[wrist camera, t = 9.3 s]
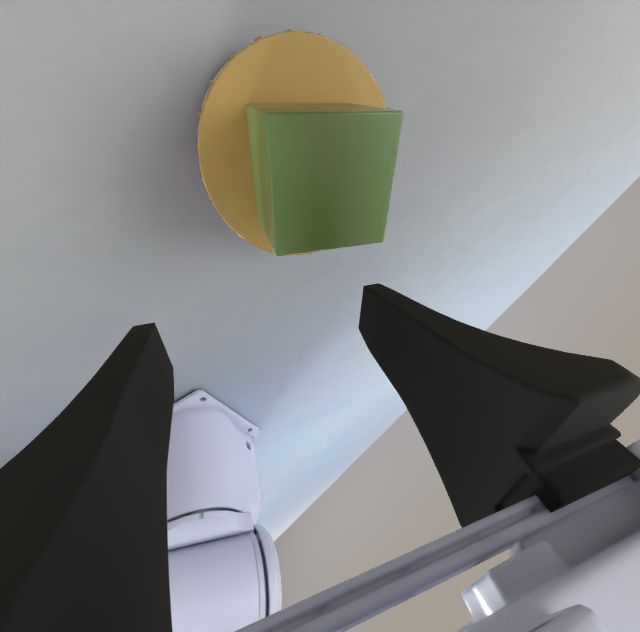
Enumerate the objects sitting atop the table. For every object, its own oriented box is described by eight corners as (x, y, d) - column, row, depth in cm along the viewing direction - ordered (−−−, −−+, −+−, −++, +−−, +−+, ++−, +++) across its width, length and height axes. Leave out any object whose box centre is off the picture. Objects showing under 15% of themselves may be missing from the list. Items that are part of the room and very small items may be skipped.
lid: (397, 192, 17) (409, 199, 16) (266, 273, 17) (271, 285, 16) (341, -19, 11) (355, -28, 10) (146, 110, 11) (142, 113, 10)
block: (353, 103, 12) (404, 110, 9) (345, 210, 15) (383, 242, 12) (245, 103, 11) (265, 112, 8) (258, 219, 14) (276, 257, 11)
